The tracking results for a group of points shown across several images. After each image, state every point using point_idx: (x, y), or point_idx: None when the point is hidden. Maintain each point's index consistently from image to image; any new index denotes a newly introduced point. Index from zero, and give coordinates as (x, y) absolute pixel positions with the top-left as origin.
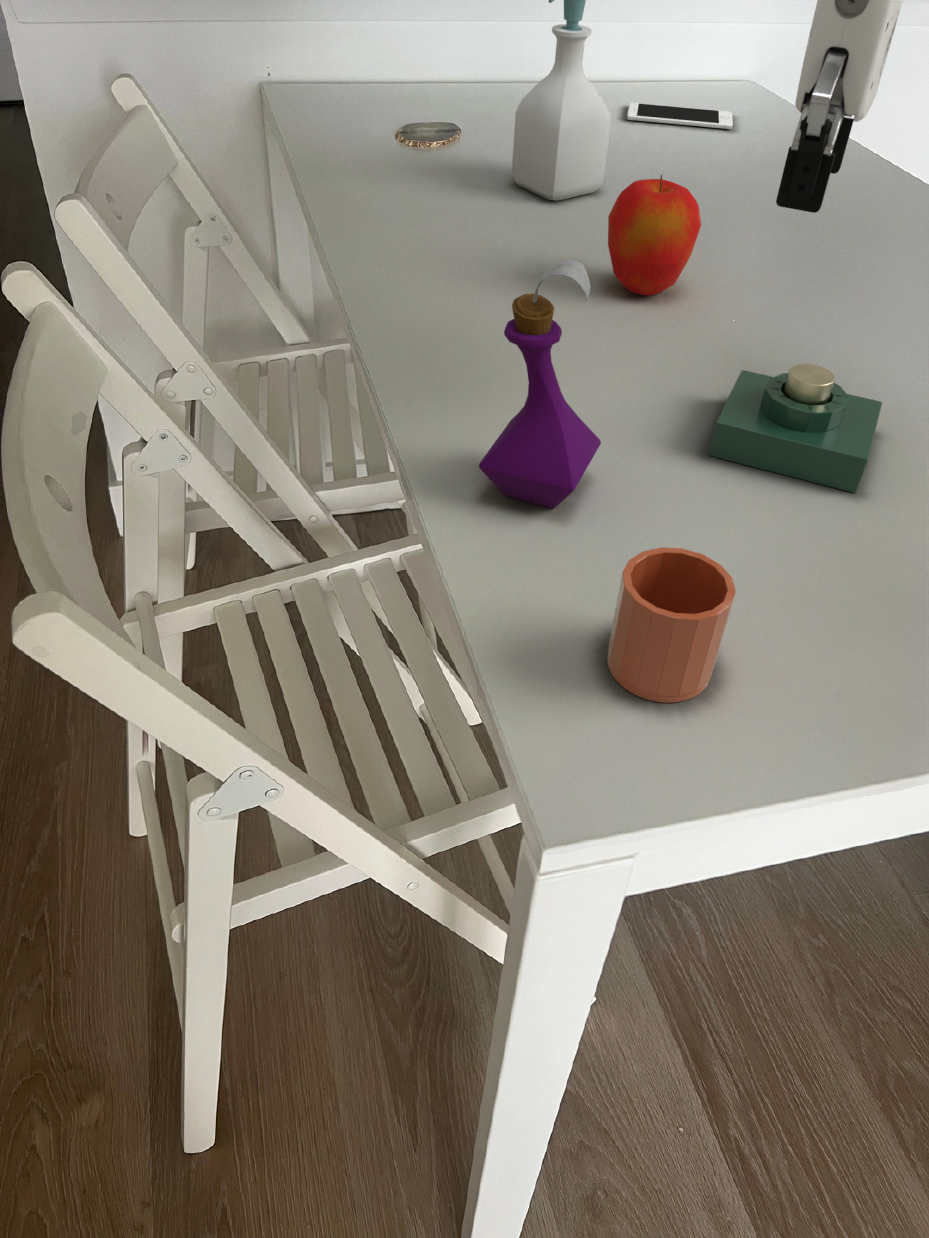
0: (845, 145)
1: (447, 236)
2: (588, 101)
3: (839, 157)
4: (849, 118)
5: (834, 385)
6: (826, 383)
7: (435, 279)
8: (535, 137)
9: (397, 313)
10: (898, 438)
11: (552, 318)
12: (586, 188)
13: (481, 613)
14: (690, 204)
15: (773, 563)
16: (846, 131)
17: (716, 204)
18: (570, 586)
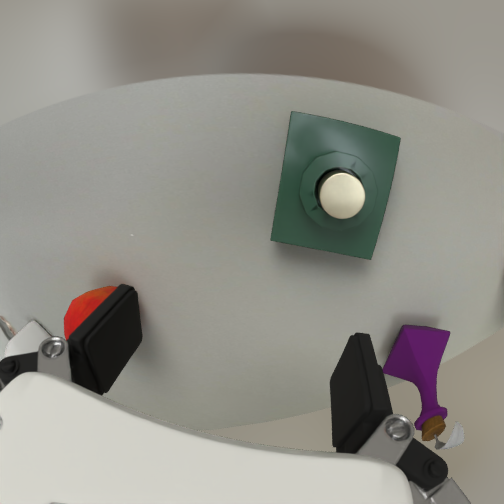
0: (107, 313)
1: (127, 392)
2: None
3: (123, 305)
4: (74, 345)
5: (317, 164)
6: (359, 183)
7: (178, 400)
8: None
9: (228, 413)
10: (289, 91)
11: (434, 420)
12: (41, 330)
13: (486, 333)
14: (82, 321)
15: (468, 206)
16: (96, 334)
17: (9, 254)
18: (479, 306)
